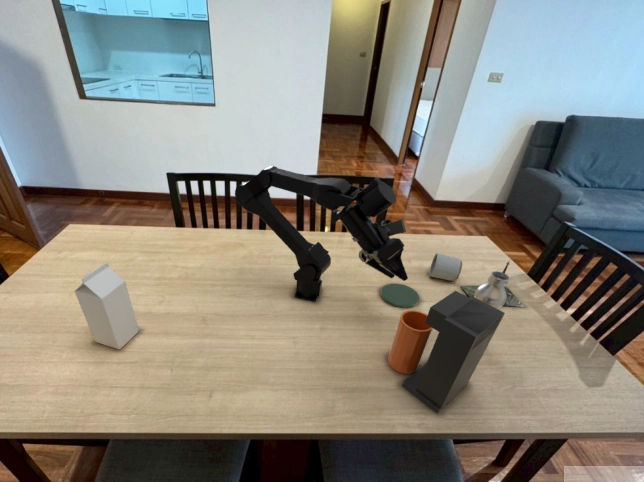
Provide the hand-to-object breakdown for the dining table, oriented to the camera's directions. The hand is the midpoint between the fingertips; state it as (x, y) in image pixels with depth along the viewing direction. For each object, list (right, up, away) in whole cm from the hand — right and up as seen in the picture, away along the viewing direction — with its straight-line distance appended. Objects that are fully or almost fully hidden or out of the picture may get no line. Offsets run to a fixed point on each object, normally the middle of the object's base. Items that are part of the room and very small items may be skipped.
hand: (399, 278), depth 86 cm
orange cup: (0, -20, -3) cm, 20 cm away
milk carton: (-68, -14, 0) cm, 70 cm away
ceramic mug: (+22, +3, +29) cm, 37 cm away
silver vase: (+34, -4, +21) cm, 40 cm away
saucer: (+6, -4, +19) cm, 20 cm away
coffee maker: (+5, -24, -8) cm, 26 cm away
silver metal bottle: (+19, -16, +4) cm, 25 cm away
